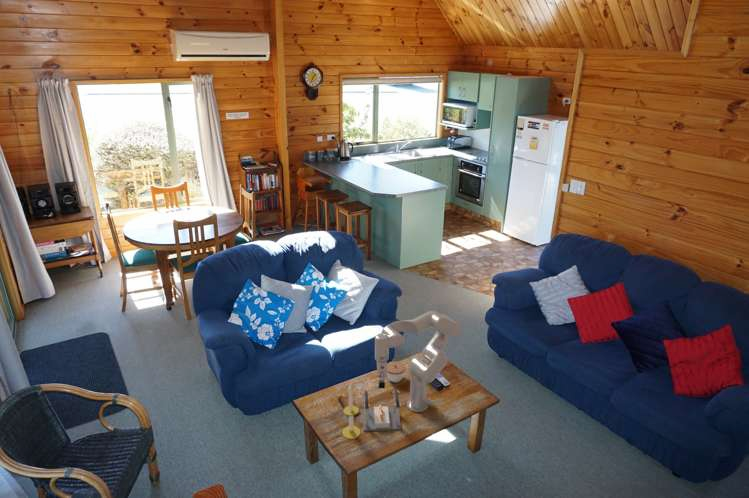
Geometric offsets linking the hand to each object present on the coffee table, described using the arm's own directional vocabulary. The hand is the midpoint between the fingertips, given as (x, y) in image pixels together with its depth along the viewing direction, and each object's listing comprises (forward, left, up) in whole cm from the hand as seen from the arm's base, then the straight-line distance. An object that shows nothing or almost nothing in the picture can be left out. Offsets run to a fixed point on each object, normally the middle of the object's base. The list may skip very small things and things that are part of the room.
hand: (381, 382), depth 279 cm
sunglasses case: (+18, -13, -27) cm, 34 cm away
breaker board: (0, 0, -26) cm, 26 cm away
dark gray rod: (-9, 0, -12) cm, 15 cm away
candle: (+17, +9, -26) cm, 32 cm away
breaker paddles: (0, 0, -22) cm, 22 cm away
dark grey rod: (+8, 0, -12) cm, 15 cm away
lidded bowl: (-11, -38, -26) cm, 48 cm away
